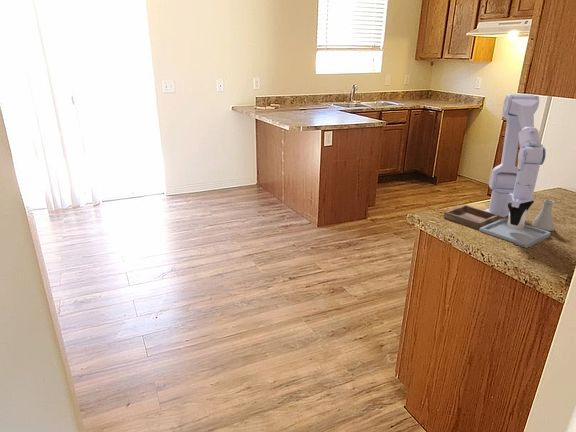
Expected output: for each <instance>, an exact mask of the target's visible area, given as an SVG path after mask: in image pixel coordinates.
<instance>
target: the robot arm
mask: <svg viewBox="0 0 576 432" xmlns="http://www.w3.org/2000/svg"><path fill="white" fill-rule="evenodd" d="M539 104H540V96H539V95H538V96H534V94H525V93H524V94H522V93H519V94H517V93H508V94H506V95H505V98H504V101H503V105H502V106H503V107H502V118H504V119H505V120H506V126H505V133H504V139H503V147H502V152H501V153H502V154H501V159H500V160H501V161H500V164H498V165H496V166H495V167H493V168H492V169H491V173H490V176H489V179H488V186H489V188H490V189H491V190H492V191H491V196H490V199H489V200H490V201H489V205H488V208H486V209H484V211H487V212H490V213H494V214H497V215H499V217H502V218H505V217H507V216H508V217H509V212H510V223H511V224H512V225H516V226H517V225H518V224H519V222H520V220H521V217H522V215H523V213H524V212H525V210H526V209H527V212H528V211H529V209H530V208H531V206H532V205H533V204H534V203H535V201H534V200H533V199H534V192H535V188H536V183H537V179H538V175H539V171H540V166H542V165H543V164H544V162H545V160H546V154H547V153H546V151H547V150H546V148H545V146H544V145H543V144H541V138H540V134H539V133H540V132H539V129H538V128H536V127H535V124H534V123H535V121H534V119H535V118H534V117H535V116H534V115H535V114H536V112H537V110H538V108H539ZM518 148H519V151H518ZM516 162H517V166H516Z"/></svg>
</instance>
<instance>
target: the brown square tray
mask: <svg viewBox="0 0 576 432" xmlns="http://www.w3.org/2000/svg"><path fill="white" fill-rule="evenodd" d="M484 210H485V209H484ZM484 210H483V209H480V208H476V207H473V206H470V205H467V204H464V205H461V206H458V207H455V208H453V209H449V210H447V211H444V212H443V218H444V219H446V220H450V221H453V222H455V223H459V224H461V225H464V226H467V227H471V228H473V229H477V230H479V229H480V228H481V227H483V226H486V225H488V224H491V223H493V222H495V221H498V220H500V219H499V218H500V216H499V215H497V214H494V213H490V212H487V211H484Z"/></svg>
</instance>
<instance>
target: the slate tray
mask: <svg viewBox="0 0 576 432" xmlns="http://www.w3.org/2000/svg"><path fill="white" fill-rule="evenodd" d="M507 223H508V218H505V217H502V218H501V219H499V220H498V221H495V222H493V223H491V224H488V225H486V226H483V227H481V228H479V229H478V230H479V232H480V233H483V234H487V235H490V236H493V237H496V238H498V239H501V240H504V241H507V242H510V243H512V244H513V245H516V246H519V247H522V248H524V247H525V248H524V249H529V248H531V247H533V246H534V245H537V244H538V243H541V241H544V240H546V239H548V238H550V237H551V232H552V231H545V230H541V229H538V228H535V227H532V225H529V224H526V223H525V224H524V228H522V229H515V228H511V227H509V226H507ZM528 247H529V248H528Z"/></svg>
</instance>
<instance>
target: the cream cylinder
mask: <svg viewBox="0 0 576 432" xmlns="http://www.w3.org/2000/svg"><path fill="white" fill-rule="evenodd" d="M527 213H528V211H527V209H526V210H525V212H524V213H523V215H522V217H521V220H520V222H519V224H518V225H517V226H516V225H512V224H511V223H510V212H509V215H508V217H507V219H508V223H507V226H509V227H511V228H515V229H522V228H524V224H525V225H526V217H527Z"/></svg>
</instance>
